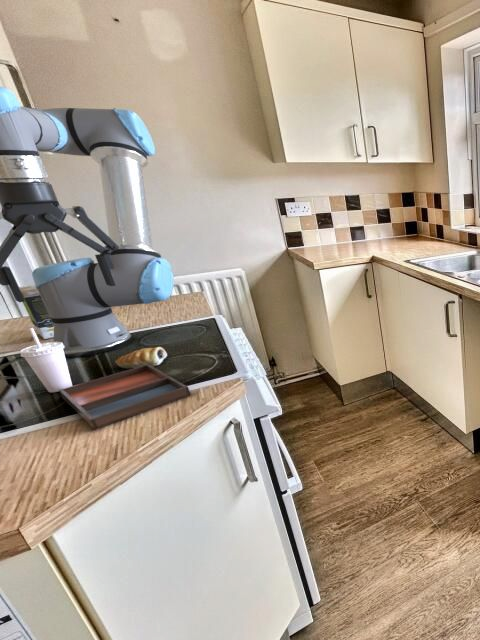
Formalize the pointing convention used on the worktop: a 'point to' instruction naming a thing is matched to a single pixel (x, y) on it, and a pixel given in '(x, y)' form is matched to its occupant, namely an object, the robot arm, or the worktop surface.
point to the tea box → (37, 311)
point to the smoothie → (48, 363)
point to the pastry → (142, 358)
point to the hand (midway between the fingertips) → (68, 292)
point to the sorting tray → (123, 395)
